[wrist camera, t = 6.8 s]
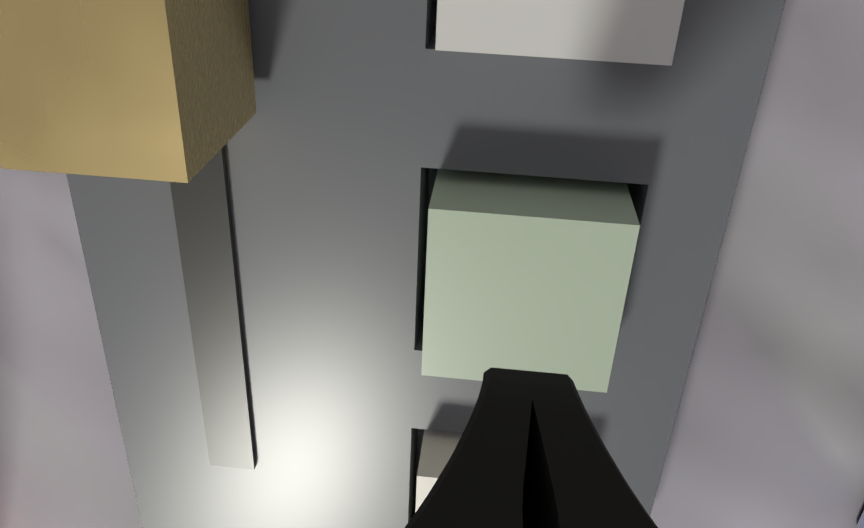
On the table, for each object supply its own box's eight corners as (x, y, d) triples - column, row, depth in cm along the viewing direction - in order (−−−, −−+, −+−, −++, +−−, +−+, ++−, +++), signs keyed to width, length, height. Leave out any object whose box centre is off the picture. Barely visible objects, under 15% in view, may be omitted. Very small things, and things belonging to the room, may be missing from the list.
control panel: (827, -402, 13) (914, -472, 10) (606, 554, 25) (618, 645, 22) (38, -423, 14) (-85, -491, 11) (191, 509, 25) (151, 591, 23)
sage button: (624, 178, 16) (640, 225, 14) (596, 332, 18) (607, 392, 16) (439, 163, 16) (428, 208, 14) (431, 317, 18) (420, 375, 16)
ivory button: (579, 427, 19) (586, 493, 17) (560, 533, 21) (564, 604, 19) (426, 412, 20) (417, 475, 18) (421, 518, 22) (412, 586, 20)
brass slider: (243, -54, 13) (161, -23, 10) (256, 112, 15) (187, 183, 12) (78, -64, 13) (-51, -37, 10) (107, 101, 15) (1, 168, 12)
